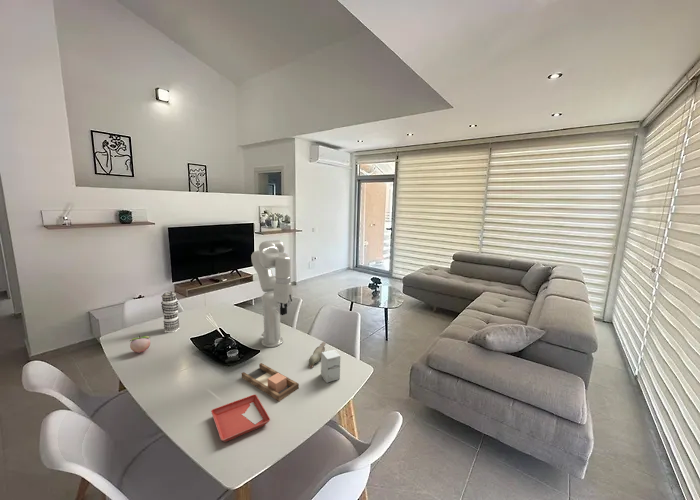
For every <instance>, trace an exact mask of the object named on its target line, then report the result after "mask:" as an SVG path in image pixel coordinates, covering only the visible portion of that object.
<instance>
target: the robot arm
mask: <svg viewBox="0 0 700 500" xmlns="http://www.w3.org/2000/svg"><path fill="white" fill-rule="evenodd" d="M250 257H251V265H252V266H253V269H254V270H255V271H256V274H257V275H258V281H259V285H260V288H261V290H262V291H263V294H262V295H261V305H262V312H263V313H262V314H263V332H262V333H261V337H262V338H263V339H262V340H261V345H262V346H263V347H265V348H275V347H278V346H281V345H282V344H283V343H284V338H283V337H281V316H285V315H287V314H288V307H289V306H292V303H293V298H294V297H293V286H292V283H291V282H292V280H291V279H292V277H291V276H292V275H291V257H290V255H288V253H286V252H285V244H284V242H283V241H281V240H280V239H279V240H278V239H277V240H265V241H262V242H260V244H259V246H258V250H256V251H253V252H252V254H251V256H250ZM273 268H274V269H275V270H274V272H275V274H274V275H273V271H272V269H273ZM277 308H279V310H278V309H277Z"/></svg>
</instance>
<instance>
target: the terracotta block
mask: <svg viewBox="0 0 700 500" xmlns="http://www.w3.org/2000/svg"><path fill="white" fill-rule="evenodd" d="M279 373H280V372H279ZM279 373H276V374H275V375H273V376H271V377H270V378H268V387H269V388H271V389H272V390H274V391H275V392H277V393H279V392H280V391H282V390H283V389H285V388H286V387H287V377H288V376H286V377H285V375H284V376H283V374H282V373H280V374H279ZM281 374H282V375H281Z"/></svg>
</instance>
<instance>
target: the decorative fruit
mask: <svg viewBox="0 0 700 500" xmlns="http://www.w3.org/2000/svg"><path fill="white" fill-rule="evenodd" d="M138 336H139V337H138ZM138 336H137V337H133V338H132V339H130V340H129V342H130V345H129V346H130V350H132V352H134V353H140V352H142V353H144V352H145V351H147V350H148V349H149V347H150V346H151V340H150V339H151V337H150V336H148V335H146V336H145V335H144V336H141V335H138Z"/></svg>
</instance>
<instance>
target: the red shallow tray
mask: <svg viewBox="0 0 700 500" xmlns="http://www.w3.org/2000/svg"><path fill="white" fill-rule="evenodd" d="M252 403H253V404H254V406H255V408H256V410H257V411H258V413H259V415H260V416H261V418H262V419H261V420H260V421H258V422H256V423H254V422H252V421H251V420H249V419H248V418H247V417H246V416H245V415H243V414H245V413H246V412H247V411H248V409H249V408H250V406H251V404H252ZM210 412H211V415H212V418H213V421H214V425H215V427H216V430H217V433H218V435H219V440H220V441H222V442H224V443H225V442H230V441H232V440H234V439H236V438H238V437H241V436H244V435H246V434H248V433H251V432H252V431H255V430H257V429H260V428H262V427H264V426H266V425H268V423H269V422H270V421H271V418H270V416H269V413H267V410H266V409H265V408H264V406H263V404H262V402H261V400H260V399H259V398H258V395H257V394H252V395H249V396H246V397H243V398H241V399H238V400H235V401H232V402H230V403H227V404H223V405H220V406H218V407H216V408H212V409H211V411H210Z"/></svg>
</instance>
